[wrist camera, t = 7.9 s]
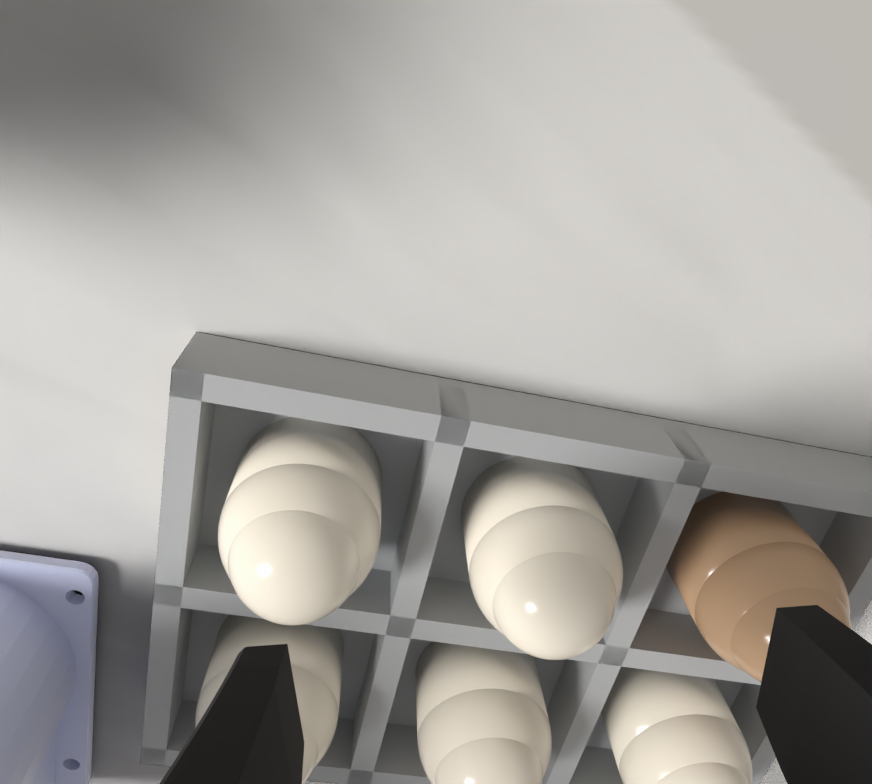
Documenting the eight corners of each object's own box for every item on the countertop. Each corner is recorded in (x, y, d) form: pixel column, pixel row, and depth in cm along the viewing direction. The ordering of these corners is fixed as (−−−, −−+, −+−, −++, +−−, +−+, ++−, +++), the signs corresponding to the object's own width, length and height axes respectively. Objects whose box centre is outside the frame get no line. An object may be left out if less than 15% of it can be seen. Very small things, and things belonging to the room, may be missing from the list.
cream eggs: (689, 741, 25) (751, 888, 20) (211, 684, 22) (167, 836, 18) (815, 501, 21) (926, 622, 16) (247, 403, 18) (203, 513, 14)
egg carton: (708, 764, 26) (734, 824, 24) (161, 702, 23) (140, 763, 21) (878, 458, 21) (930, 502, 19) (196, 332, 18) (171, 367, 16)
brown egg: (810, 558, 22) (916, 686, 17) (693, 614, 22) (766, 751, 18) (766, 466, 20) (869, 581, 16) (642, 529, 21) (708, 657, 16)
